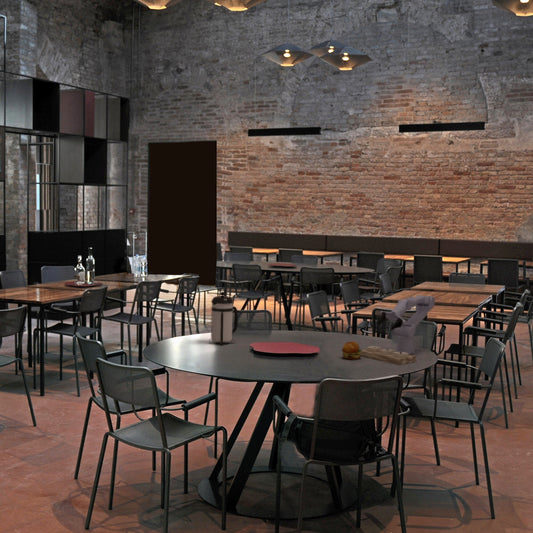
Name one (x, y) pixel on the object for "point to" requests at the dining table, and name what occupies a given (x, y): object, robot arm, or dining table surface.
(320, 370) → the dining table surface
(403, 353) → the three dot tile
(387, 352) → the two dot tile
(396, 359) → the tile board
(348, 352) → the cheeseburger
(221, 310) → the coffee press
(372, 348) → the one dot tile
